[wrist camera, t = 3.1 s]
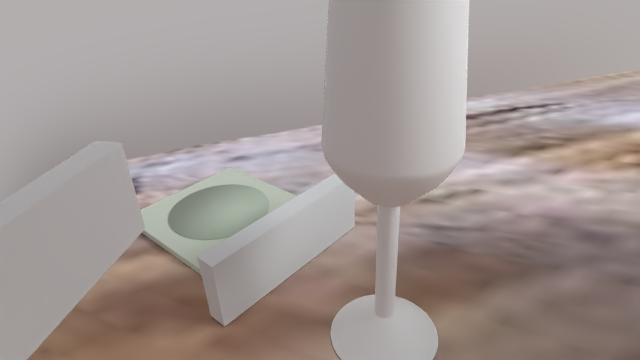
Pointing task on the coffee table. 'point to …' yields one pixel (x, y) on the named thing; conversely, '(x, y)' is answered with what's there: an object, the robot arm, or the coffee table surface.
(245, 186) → the resting pad
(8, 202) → the robot arm
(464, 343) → the coffee table surface
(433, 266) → the coffee table surface
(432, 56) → the champagne flute
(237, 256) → the low wall
